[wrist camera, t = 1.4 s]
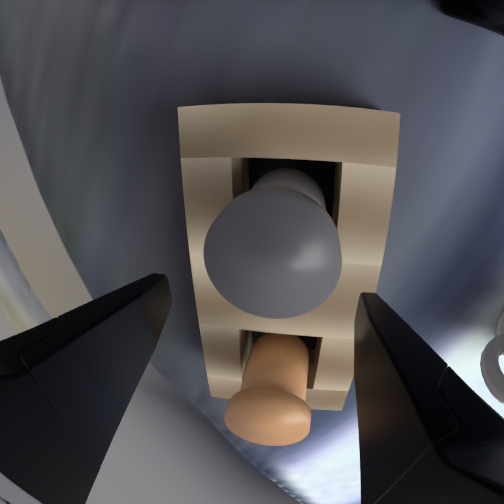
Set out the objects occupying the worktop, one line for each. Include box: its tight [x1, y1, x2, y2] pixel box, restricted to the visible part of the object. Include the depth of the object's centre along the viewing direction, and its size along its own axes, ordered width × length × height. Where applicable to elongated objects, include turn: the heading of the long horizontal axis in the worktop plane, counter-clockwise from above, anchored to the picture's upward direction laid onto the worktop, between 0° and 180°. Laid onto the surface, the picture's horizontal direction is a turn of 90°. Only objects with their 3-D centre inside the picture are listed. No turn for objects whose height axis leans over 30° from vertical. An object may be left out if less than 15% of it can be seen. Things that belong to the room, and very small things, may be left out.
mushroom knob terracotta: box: [224, 333, 311, 446], centre depth 17 cm, size 5×5×6 cm
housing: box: [178, 103, 400, 411], centre depth 19 cm, size 20×10×4 cm, turn 1°
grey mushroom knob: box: [203, 168, 342, 319], centre depth 13 cm, size 5×5×6 cm
